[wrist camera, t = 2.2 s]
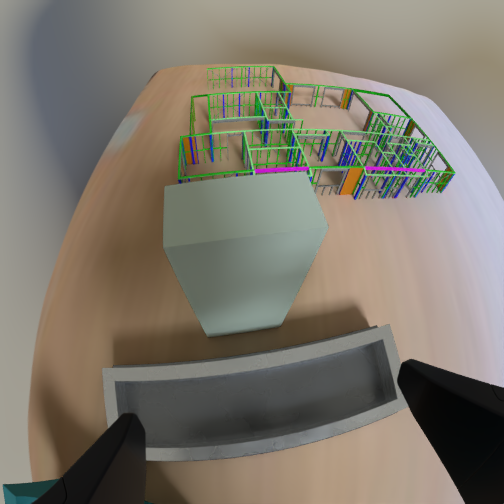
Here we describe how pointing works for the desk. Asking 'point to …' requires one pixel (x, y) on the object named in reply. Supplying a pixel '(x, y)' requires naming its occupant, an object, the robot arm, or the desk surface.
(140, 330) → the desk surface
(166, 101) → the desk surface
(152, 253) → the desk surface
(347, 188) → the house model
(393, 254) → the desk surface
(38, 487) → the teal curved piece
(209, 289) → the door panel
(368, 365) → the door track
